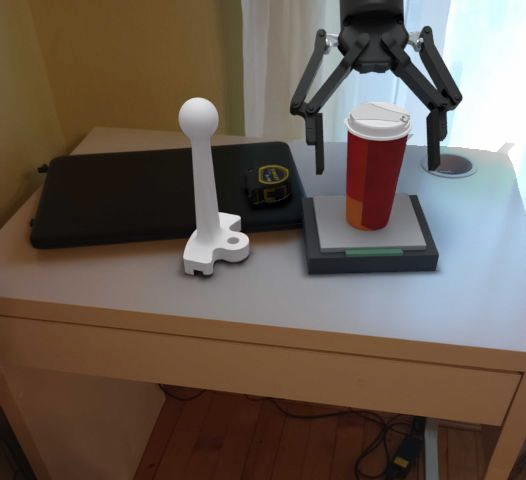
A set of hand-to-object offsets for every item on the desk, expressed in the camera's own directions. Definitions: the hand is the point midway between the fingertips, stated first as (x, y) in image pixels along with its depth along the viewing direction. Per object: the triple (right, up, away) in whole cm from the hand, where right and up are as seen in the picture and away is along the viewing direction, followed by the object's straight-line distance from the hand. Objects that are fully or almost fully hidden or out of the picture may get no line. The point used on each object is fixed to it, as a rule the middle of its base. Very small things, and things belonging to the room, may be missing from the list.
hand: (377, 170), depth 75 cm
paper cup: (0, -5, +7) cm, 8 cm away
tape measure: (-13, 0, +17) cm, 21 cm away
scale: (0, -7, +9) cm, 11 cm away
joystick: (-19, -9, +7) cm, 22 cm away
